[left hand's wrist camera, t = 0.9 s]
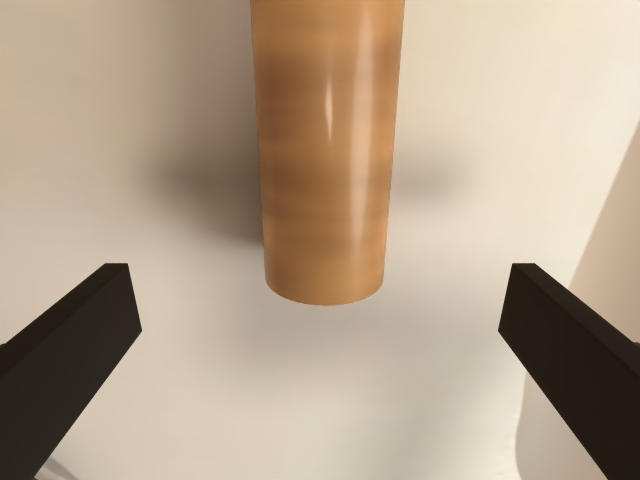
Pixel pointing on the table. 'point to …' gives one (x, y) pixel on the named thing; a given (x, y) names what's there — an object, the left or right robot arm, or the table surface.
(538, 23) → the table surface
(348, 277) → the rod
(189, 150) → the table surface
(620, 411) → the left robot arm
